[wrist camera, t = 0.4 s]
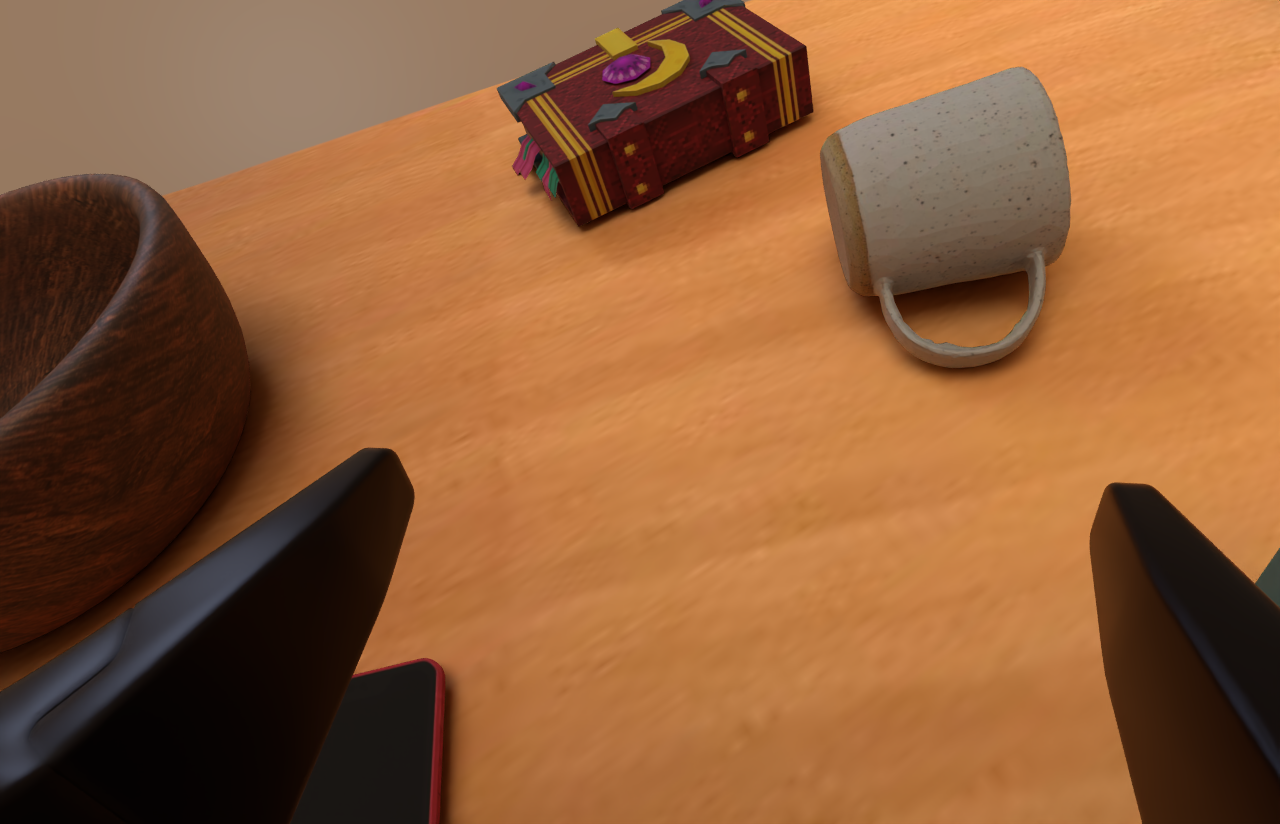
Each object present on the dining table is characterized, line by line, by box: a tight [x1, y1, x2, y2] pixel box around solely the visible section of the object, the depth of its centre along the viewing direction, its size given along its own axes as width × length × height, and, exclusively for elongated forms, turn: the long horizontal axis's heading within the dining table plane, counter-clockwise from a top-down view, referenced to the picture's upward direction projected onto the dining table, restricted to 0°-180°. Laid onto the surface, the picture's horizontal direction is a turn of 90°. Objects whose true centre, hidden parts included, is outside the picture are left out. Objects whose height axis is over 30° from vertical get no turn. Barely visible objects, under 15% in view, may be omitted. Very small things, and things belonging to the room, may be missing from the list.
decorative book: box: [497, 0, 813, 226], centre depth 45 cm, size 11×16×5 cm
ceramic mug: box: [820, 67, 1071, 368], centre depth 31 cm, size 11×8×8 cm
